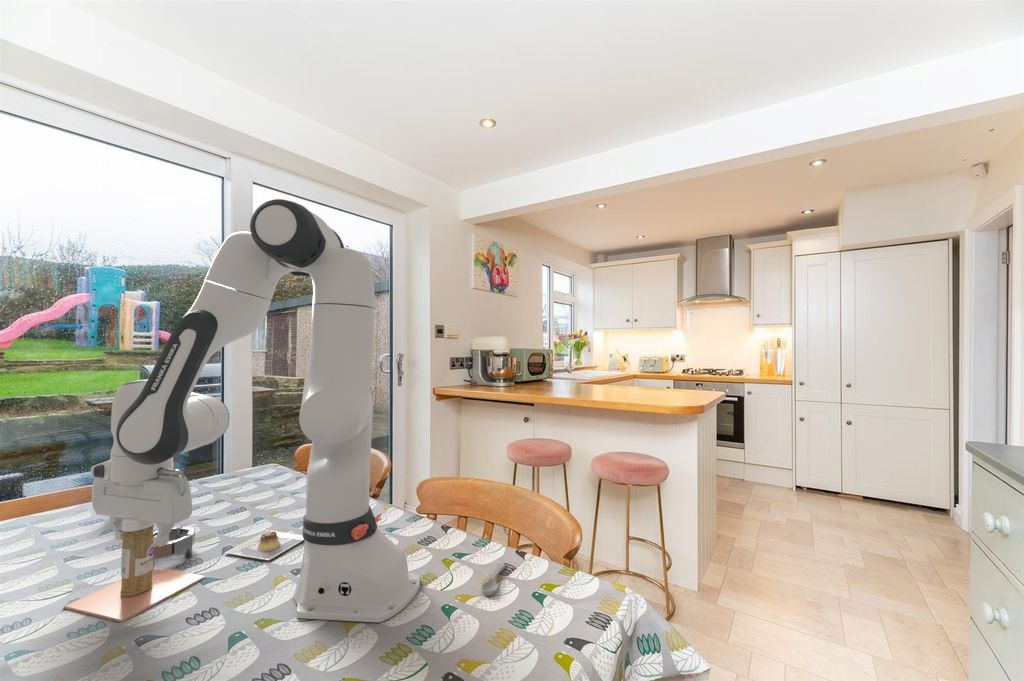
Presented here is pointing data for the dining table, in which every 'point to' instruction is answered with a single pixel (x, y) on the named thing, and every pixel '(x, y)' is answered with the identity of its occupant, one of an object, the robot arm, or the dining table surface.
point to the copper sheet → (124, 608)
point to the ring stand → (176, 543)
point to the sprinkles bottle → (136, 557)
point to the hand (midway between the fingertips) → (141, 542)
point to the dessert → (266, 542)
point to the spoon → (492, 581)
